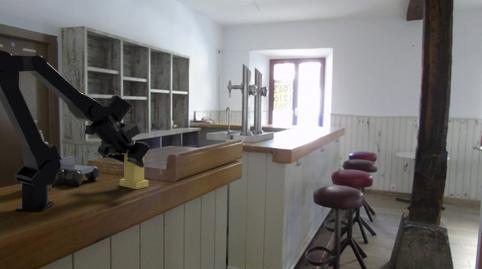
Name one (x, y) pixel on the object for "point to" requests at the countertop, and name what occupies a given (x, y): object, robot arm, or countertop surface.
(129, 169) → the yellow block on base
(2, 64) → the robot arm
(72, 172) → the trolley
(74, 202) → the countertop surface
